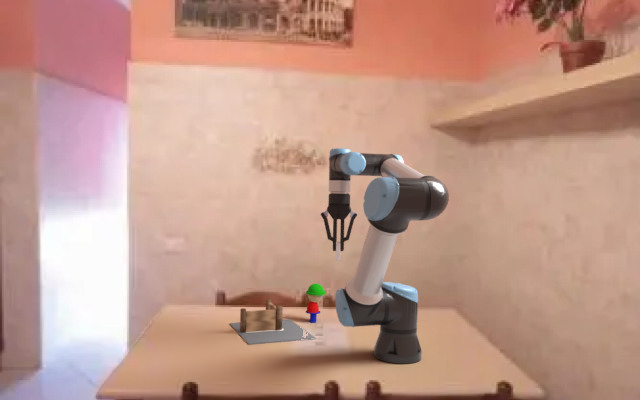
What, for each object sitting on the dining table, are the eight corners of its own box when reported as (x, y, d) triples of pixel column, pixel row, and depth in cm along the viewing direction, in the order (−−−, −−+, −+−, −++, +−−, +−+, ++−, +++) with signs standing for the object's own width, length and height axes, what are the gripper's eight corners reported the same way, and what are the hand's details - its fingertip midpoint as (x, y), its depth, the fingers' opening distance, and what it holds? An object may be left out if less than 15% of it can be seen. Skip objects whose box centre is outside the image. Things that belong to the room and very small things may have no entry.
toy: (325, 324, 221) (326, 285, 220) (304, 323, 221) (305, 285, 220) (325, 319, 229) (326, 282, 228) (305, 318, 229) (306, 281, 228)
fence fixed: (282, 331, 209) (283, 306, 209) (276, 331, 208) (277, 307, 208) (270, 320, 224) (270, 298, 223) (264, 321, 223) (264, 298, 222)
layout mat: (315, 338, 200) (315, 337, 200) (248, 344, 191) (248, 343, 191) (289, 319, 226) (289, 318, 226) (229, 324, 217) (229, 322, 217)
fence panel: (274, 328, 210) (274, 306, 210) (275, 329, 208) (276, 307, 208) (239, 330, 205) (239, 308, 205) (240, 332, 203) (241, 309, 203)
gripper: (358, 193, 203) (356, 259, 203) (321, 192, 204) (320, 258, 204) (358, 193, 195) (356, 262, 195) (320, 192, 196) (318, 261, 196)
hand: (338, 260), depth 200 cm, fingers closed
